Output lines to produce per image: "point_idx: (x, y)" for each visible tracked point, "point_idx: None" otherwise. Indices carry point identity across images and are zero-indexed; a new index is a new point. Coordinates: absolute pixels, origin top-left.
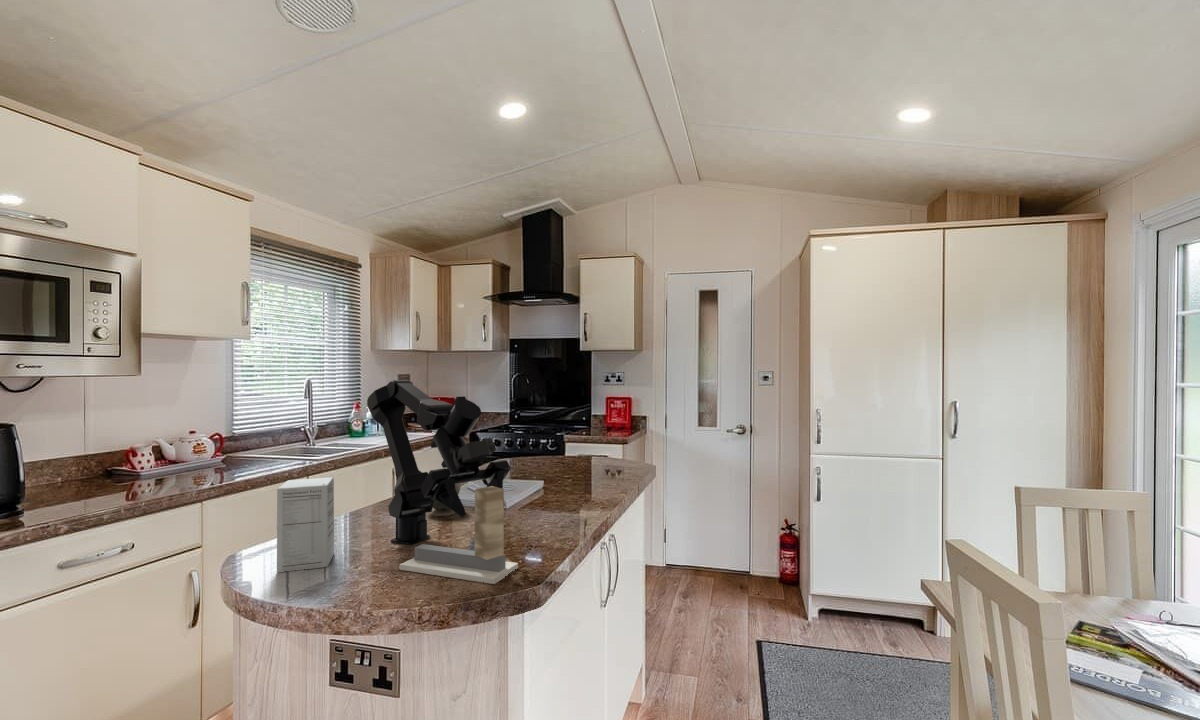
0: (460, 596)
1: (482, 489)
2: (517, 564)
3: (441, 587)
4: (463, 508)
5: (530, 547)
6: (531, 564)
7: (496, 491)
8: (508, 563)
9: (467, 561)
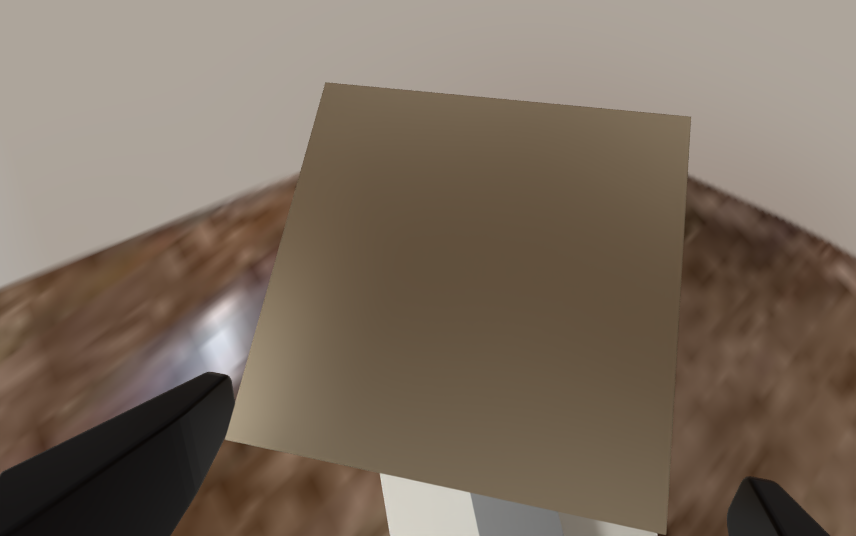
0: (761, 297)
1: (583, 354)
2: None
3: (762, 460)
4: (795, 532)
5: None
6: None
7: (472, 111)
8: None
9: None
